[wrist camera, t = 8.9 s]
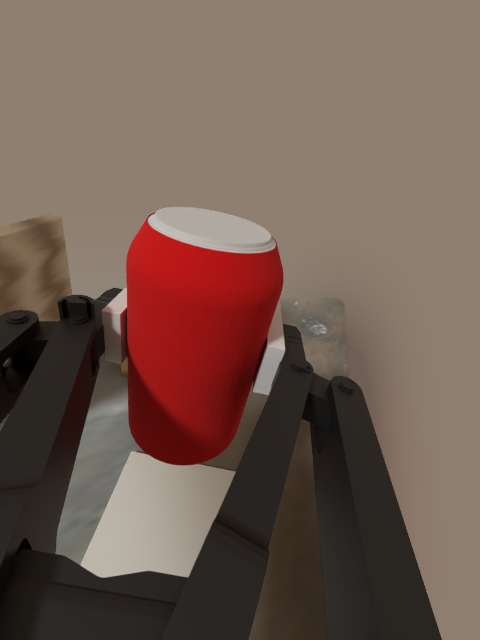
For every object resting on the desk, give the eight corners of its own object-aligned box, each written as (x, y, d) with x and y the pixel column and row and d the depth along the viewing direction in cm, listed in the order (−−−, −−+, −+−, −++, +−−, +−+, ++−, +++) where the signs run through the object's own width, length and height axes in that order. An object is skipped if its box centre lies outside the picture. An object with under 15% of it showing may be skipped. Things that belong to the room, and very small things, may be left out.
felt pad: (65, 603, 19) (64, 600, 19) (131, 454, 28) (131, 451, 28) (220, 629, 19) (222, 627, 19) (235, 474, 29) (236, 471, 28)
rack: (137, 518, 24) (141, 366, 14) (-77, 478, 23) (-221, 290, 14) (194, 354, 43) (211, 244, 34) (79, 330, 42) (63, 209, 33)
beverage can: (168, 374, 20) (185, 196, 13) (248, 410, 18) (307, 233, 12) (103, 443, 15) (80, 208, 8) (206, 500, 13) (272, 274, 7)
